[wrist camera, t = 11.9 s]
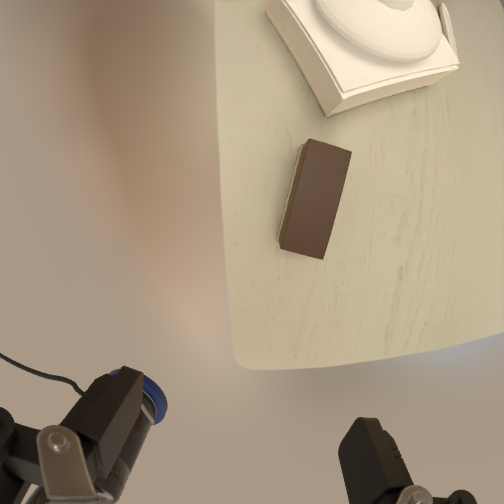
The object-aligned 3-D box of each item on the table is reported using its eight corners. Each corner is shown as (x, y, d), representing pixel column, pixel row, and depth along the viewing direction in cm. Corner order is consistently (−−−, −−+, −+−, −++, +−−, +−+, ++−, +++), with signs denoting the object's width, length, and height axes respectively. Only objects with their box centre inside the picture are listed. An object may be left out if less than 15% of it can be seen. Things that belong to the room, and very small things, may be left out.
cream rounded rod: (442, 6, 27) (446, 2, 25) (454, 70, 30) (460, 67, 28) (434, 3, 27) (438, -1, 25) (447, 66, 30) (452, 63, 28)
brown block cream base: (300, 145, 34) (308, 136, 27) (337, 156, 34) (353, 150, 27) (276, 239, 36) (279, 250, 30) (313, 249, 36) (323, 262, 30)
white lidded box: (326, 118, 33) (368, 72, 17) (264, 12, 30) (263, -64, 14) (429, 86, 31) (496, 50, 15) (368, -10, 28) (402, -69, 12)
